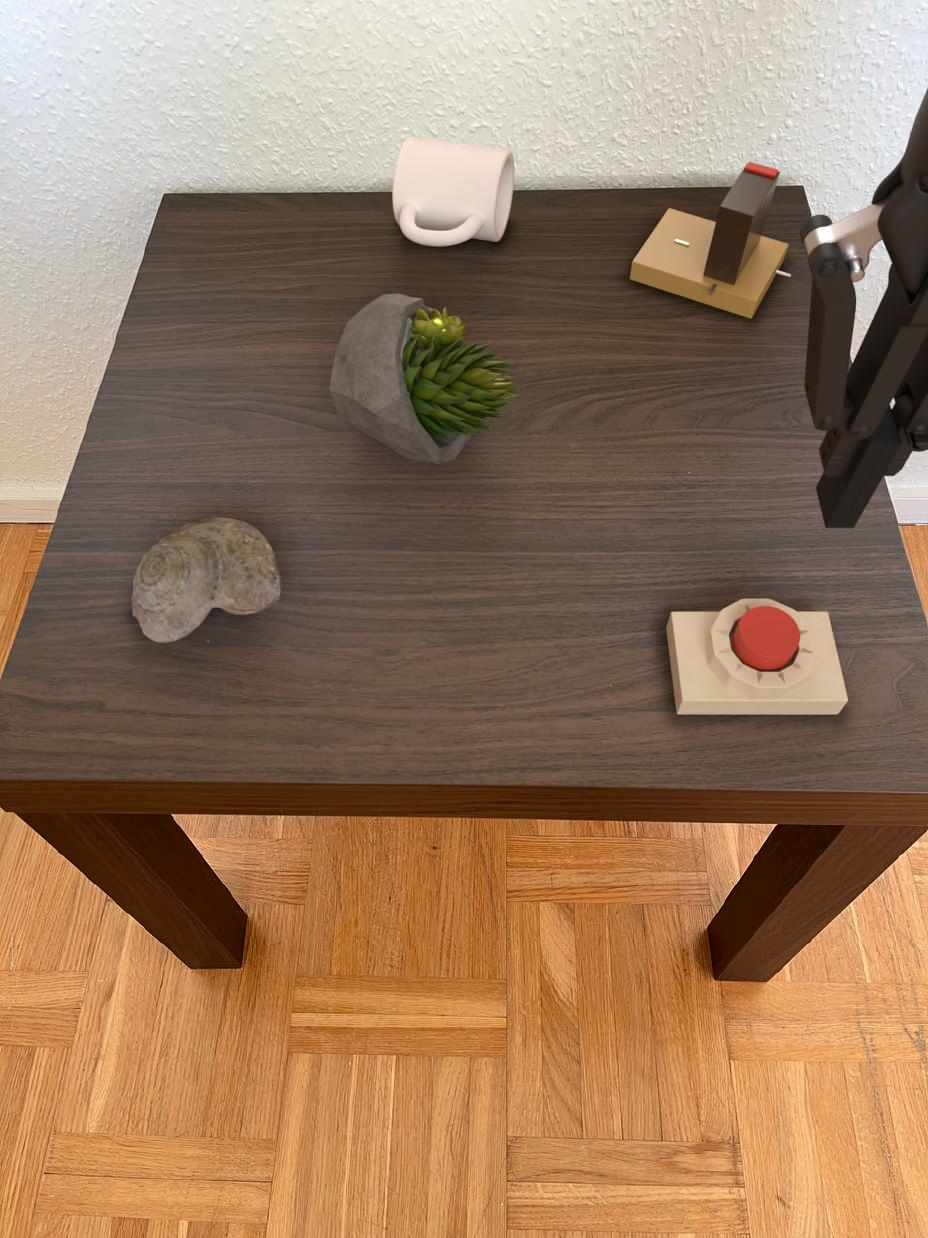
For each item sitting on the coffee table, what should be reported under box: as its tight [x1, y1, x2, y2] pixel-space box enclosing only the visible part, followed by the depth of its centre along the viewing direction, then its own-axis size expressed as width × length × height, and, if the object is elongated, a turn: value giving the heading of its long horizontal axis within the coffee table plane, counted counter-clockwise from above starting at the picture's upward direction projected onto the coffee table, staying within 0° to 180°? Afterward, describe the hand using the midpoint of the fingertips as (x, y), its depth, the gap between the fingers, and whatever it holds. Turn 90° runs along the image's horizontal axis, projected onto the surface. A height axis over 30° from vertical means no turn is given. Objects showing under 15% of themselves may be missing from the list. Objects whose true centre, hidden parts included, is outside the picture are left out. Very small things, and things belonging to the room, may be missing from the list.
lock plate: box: [629, 207, 792, 320], centre depth 85 cm, size 14×11×2 cm
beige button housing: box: [665, 598, 849, 716], centre depth 63 cm, size 11×7×4 cm, turn 89°
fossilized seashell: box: [131, 516, 283, 644], centre depth 66 cm, size 11×11×7 cm
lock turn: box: [703, 161, 781, 285], centre depth 81 cm, size 7×3×7 cm, turn 152°
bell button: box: [733, 606, 800, 670], centre depth 60 cm, size 4×4×2 cm
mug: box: [391, 135, 515, 247], centre depth 86 cm, size 12×10×8 cm
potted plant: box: [328, 293, 522, 464], centre depth 72 cm, size 12×13×15 cm
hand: (834, 507), depth 49 cm, fingers closed
